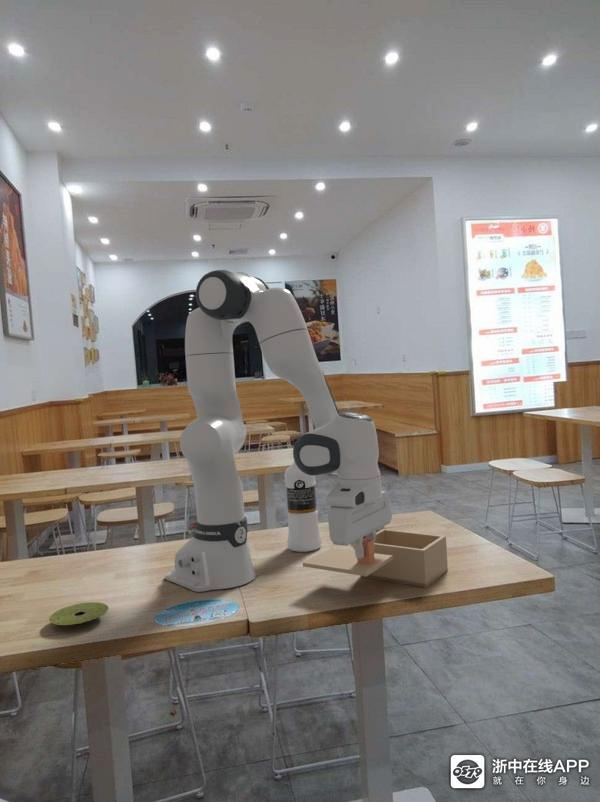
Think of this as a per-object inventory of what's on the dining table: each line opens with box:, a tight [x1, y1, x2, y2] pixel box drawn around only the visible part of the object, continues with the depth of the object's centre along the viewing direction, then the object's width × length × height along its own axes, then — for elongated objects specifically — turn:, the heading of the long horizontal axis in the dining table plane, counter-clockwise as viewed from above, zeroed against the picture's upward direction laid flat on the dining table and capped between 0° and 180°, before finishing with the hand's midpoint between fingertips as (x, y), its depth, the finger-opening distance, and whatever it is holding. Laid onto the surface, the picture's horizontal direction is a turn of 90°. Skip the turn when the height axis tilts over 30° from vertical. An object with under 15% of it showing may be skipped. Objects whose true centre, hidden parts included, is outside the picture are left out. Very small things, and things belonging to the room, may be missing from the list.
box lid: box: [302, 539, 393, 577], centre depth 126 cm, size 16×12×5 cm
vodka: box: [283, 437, 323, 553], centre depth 158 cm, size 9×9×30 cm
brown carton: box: [360, 528, 449, 589], centre depth 134 cm, size 16×12×8 cm
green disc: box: [48, 601, 109, 626], centre depth 118 cm, size 11×11×2 cm
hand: (365, 554), depth 123 cm, fingers closed on box lid
